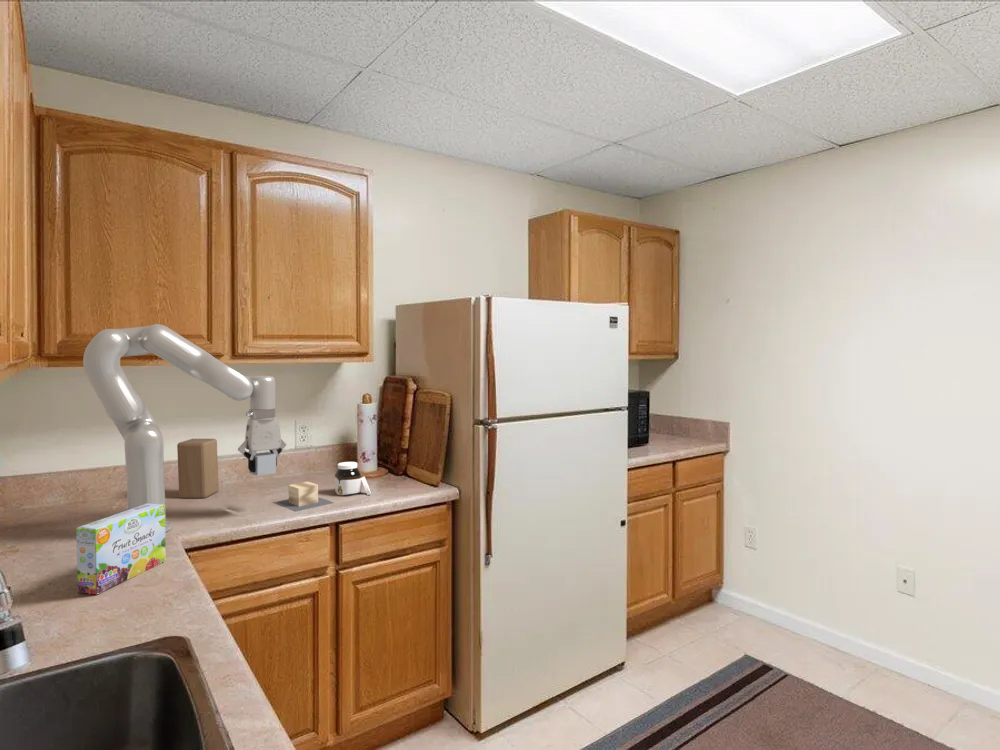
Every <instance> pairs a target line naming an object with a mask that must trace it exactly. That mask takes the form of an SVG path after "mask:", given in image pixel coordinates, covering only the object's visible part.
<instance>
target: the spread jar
mask: <svg viewBox="0 0 1000 750" xmlns="http://www.w3.org/2000/svg"><path fill="white" fill-rule="evenodd" d="M362 485H363V489H364V491H365V493H366V495H367V496H371V494H372V492H371V490H370V487H369V484H368V482H367V479H366V477H365V476H362V475H361V472H360V470H359V469H358V462H356V461H343V462H339V463H337V470H336V471H335V473H334V489H335V490H334V491H335V494H337V495H338V496H341V497H352V496H356V495H360V494H361V493H362Z"/></svg>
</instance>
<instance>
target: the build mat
mask: <svg viewBox="0 0 1000 750" xmlns="http://www.w3.org/2000/svg"><path fill="white" fill-rule="evenodd" d="M272 503H273V504H276V505H278V506H280V507H283V508H285V509H288V510H290V511H293V512H300V511H305V510H308V509H313V508H318V507H322V506H326V505H331V504H335V502H333V501H331V500H329V499H325V498H323V497H319V496H318V503H313V504H308V505H304V506H296V505H294V504H291V503H289V498H288V499H283V500H278V501H273V502H272Z"/></svg>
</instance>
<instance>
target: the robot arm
mask: <svg viewBox="0 0 1000 750" xmlns="http://www.w3.org/2000/svg"><path fill="white" fill-rule="evenodd" d="M150 354H151V355H152V354H153V355H155V356H157V357H158V358H160V359H161V360H163V361H165V362H167V363H168V364H170V365H172V366H173V367H175V368H176V369H178V370H180V371H181V372H183V373H185V374H187V375H189V376H191V377H193V378H194V379H198V380H199V381H201V382H203V383H205V384H207V385H208V386H211V387H213V388H214V389H216V390H217V391H219V392H221V393H222V394H224V395H225V396H227V397H228V398H230V399H232V400H234V401H237V402H238V401H240V402H242V401H245V400H247V399H248V398H249V409H248V410H249V411H246V412H245V416H246V417H248V419H247V423H246V427H245V435H244V436H245V437H244V441H243V442H242V443H241V445H239V446H238V447H237V451H239V453H240V454H242V455H243V456H244V457H245V458H246V459H247V469H248V471H250V472H253V473H254V472H255V460H254V457H255V454H256V453H258V452H262V451H265V452H266V451H268V452H269V453H272V454H275V455H276V467H277V465H278V457H279V455H280V454H281V452H282V451H283V450H284V449H285V448H286V446H287V443H286V442H285V441H284V440H283V439H282V437H281V434H282V433H281V429H280V428H281V427H280V426H281V425H280V422H279V418H278V417H276V379H275V377H273V376H272V375H254V376H250V375H249V376H248V375H247V376H246V375H243V374H241V373H240V372H238V371H236V370H235V369H233V368H232V367H230V366H228V365H227V364H225V363H224V362H222V361H220V360H219V359H217V358H216V357H214V356H213V355H212V354H210V353H209V352H207V351H206V350H204V349H203V348H201V347H200V346H198V345H196V344H195V343H193V342H192V341H190V340H188V339H187V338H185V337H183V336H182V335H180V334H179V333H177V332H176V331H174V330H172V329H171V328H170V327H168V326H166V325H163V324H160V323H155V324H151V325H146V326H138V327H137V326H136V327H125V328H106V329H103V330H101V331H99V332H98V333H96V334H95V336H93V338H92V339H91V340H90V342H89V343H88V344H87V346H86V348H85V351H84V353H83V360H82V363H83V364H82V365H83V369H84V370H83V371H84V373H85V375H86V378H87V380H88V381H89V383H90V384H91V385H90V386H92V388H93V390H94V392H95V394H96V395H97V398H98V399H99V401H100V403H101V404H102V407H103V409H104V411H105V413H106V415H107V417H108V418H109V419H110V420H111V421H112V422H113V423H114V425H115V427H116V428H117V430H118V432H119V433H120V435H121V436H122V438H123V440H124V443H123V444H124V457H125V459H124V460H125V479H126V498H127V500H126V501H127V510H130V509H132V508H135V507H138V506H141V505H144V504H165V505H166V491H165V490H166V489H165V487H166V486H165V465H164V464H165V463H164V458H165V457H164V447H165V446H164V444H165V443H164V437H163V434H162V431H161V429H160V427H159V426H158V424H157V423H156V421H155V419H154V418H153V415H152V413H150V410H149V409H148V407H147V405H146V404H145V402H144V400H143V398H142V397H141V395H140V394H138V392H136V391H135V390H134V388H133V386H132V385H131V383H130V381H129V379H128V377H127V375H126V374H125V371H124V370H123V368H122V366H121V358H126V357H135V356H143V355H144V356H145V355H150ZM247 450H248V451H247ZM166 513H167V512H166V508H165V533H167V532H169V531H171V529H172V528H173V523H172V522H170V521H167V514H166Z"/></svg>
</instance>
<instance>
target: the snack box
mask: <svg viewBox="0 0 1000 750" xmlns="http://www.w3.org/2000/svg"><path fill="white" fill-rule="evenodd" d="M165 509H166V503H165V504H144V505H141V506H138V507H135V508H132V509H130V510H128V509H127V510H124V511H121V512H118V513H115V514H113V515H110V516H107V517H104V518H101V519H98V520H95V521H92V522H89V523H87V524H84V525H83V524H82V525H81V526H78V527H76V528H75V531H76V534H75V537H76V568H77V569H76V570H77V572H76V573H77V576H76V577H77V594H83V593H90V594H97V593H100V592H102V591H104V590H106V589H108V588H110V587H112V588H114V587H116V586H118V585H120V584H122V583H124V582H126V581H128V579H129V580H131V579H132V577H133V578H135V577H137V576H138V575H140V574H142V573H145V572H147V571H149V570H151V569H153V568H155V567H157V566H159V565H161V564H163V563H162V562H164V563H166V561H167V553H166V552H167V551H166V547H167V546H166V545H167V544H166V532H165ZM160 563H161V564H160ZM158 564H159V565H158ZM156 565H157V566H156ZM154 566H155V567H154ZM130 578H131V579H130ZM119 583H120V584H119ZM117 584H118V585H117ZM115 585H116V586H115ZM113 586H114V587H113ZM110 589H111V588H110ZM108 590H109V589H108ZM106 591H107V590H106ZM104 592H105V591H104ZM102 593H103V592H102ZM90 594H89V595H90ZM100 594H101V593H100Z"/></svg>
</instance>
